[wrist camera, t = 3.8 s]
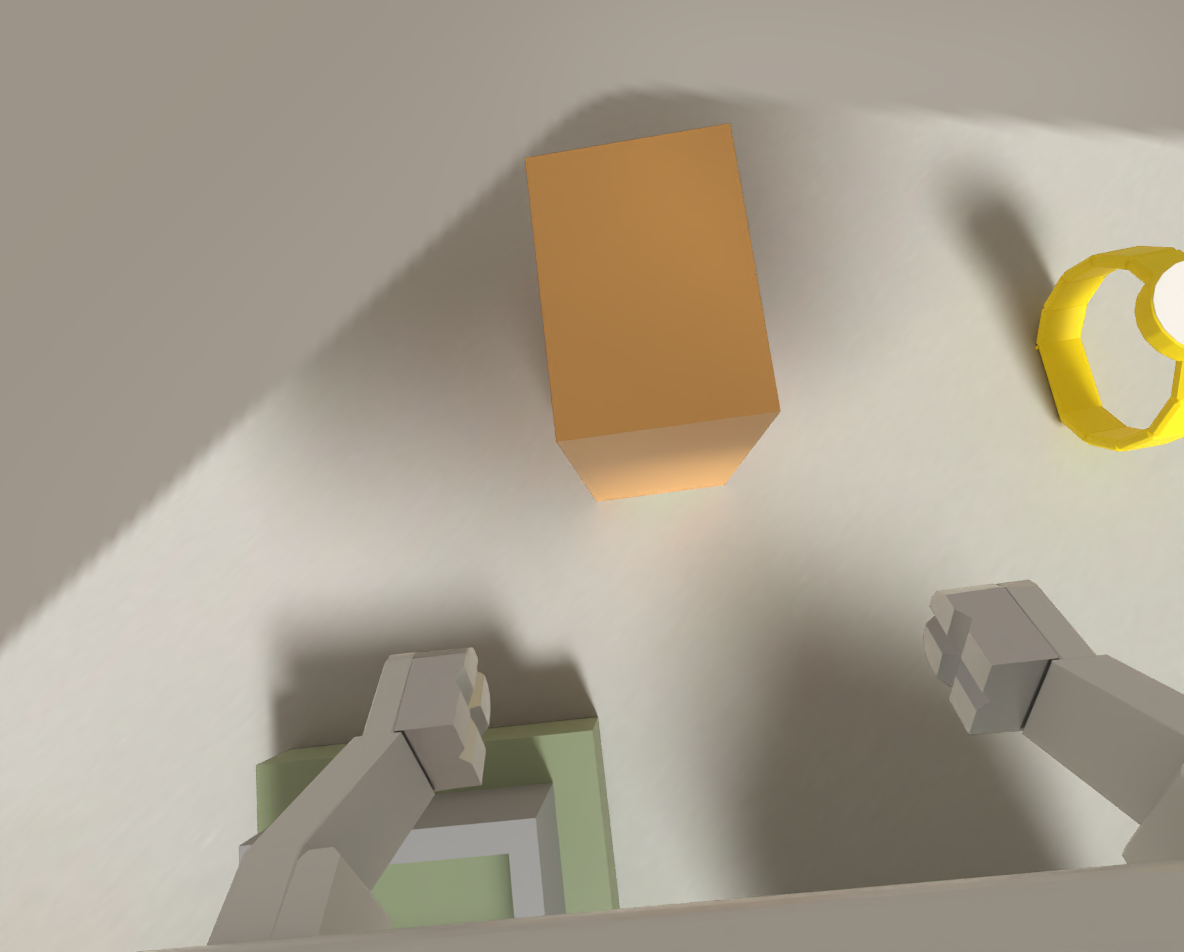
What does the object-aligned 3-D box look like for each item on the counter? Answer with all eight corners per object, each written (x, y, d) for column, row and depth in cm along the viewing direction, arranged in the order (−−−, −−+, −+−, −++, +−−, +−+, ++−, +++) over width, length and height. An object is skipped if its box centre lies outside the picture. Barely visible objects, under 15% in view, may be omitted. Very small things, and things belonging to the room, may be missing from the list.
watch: (998, 315, 23) (1111, 210, 17) (1077, 299, 23) (1217, 189, 17) (1055, 472, 22) (1198, 415, 16) (1139, 457, 21) (1315, 394, 16)
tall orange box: (724, 484, 23) (780, 411, 13) (596, 501, 23) (556, 441, 13) (697, 312, 24) (730, 123, 14) (576, 330, 24) (524, 157, 14)
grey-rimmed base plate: (597, 716, 22) (582, 756, 17) (639, 1085, 20) (635, 1250, 15) (290, 749, 22) (190, 795, 18) (302, 1106, 21) (192, 1271, 16)
